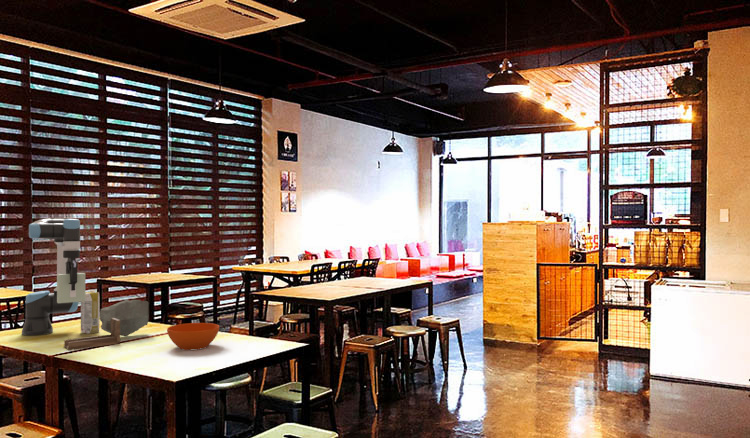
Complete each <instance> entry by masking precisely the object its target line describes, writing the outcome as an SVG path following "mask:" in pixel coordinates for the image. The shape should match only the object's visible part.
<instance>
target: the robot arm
mask: <svg viewBox="0 0 750 438" xmlns="http://www.w3.org/2000/svg"><path fill="white" fill-rule="evenodd" d="M28 237H29V238H30V239H41V240H42V239H43V240H53V243H54V244H55V245H56V275H57V274H70V283H69V284H70V297H76V283H77V273H78V267H79V266H78V265H79V264H78V261H77V258H80V257H81V251H80V249H81V221H80V220H79V219H78V218H42V219H38V220H36V221H33V222H32V223H29V224H28ZM79 303H80V302H69V303H57V286H56V287H55V288H54V289H53V292H50V290H41V291H34V292H31V293H28V294H27V295H26V296H25V321H24V323H23V327H22V328H21V335H22V336H42V335H48V334H51V333H53V332H54V328H53V325H52V322H51V319H50V314H64V313H67V314H69V313H74V312H76V311H77V310H78V308H79V307H78V306H79Z"/></svg>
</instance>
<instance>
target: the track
mask: <svg viewBox="0 0 750 438" xmlns="http://www.w3.org/2000/svg"><path fill="white" fill-rule="evenodd" d="M63 341H64V343H63V347H64V348H65V349H67V350H68V351H72V349H74V350H80V349H88V347H89V348H93V347H94V348H95V347H102V346H110V345H118V344H121V335H120V320H118V319H116V318H111V333H110V334H103V335H96V336H87V337H79V338H72V339H71V338H70V339H64V340H63Z"/></svg>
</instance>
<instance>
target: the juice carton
mask: <svg viewBox="0 0 750 438" xmlns="http://www.w3.org/2000/svg"><path fill="white" fill-rule="evenodd" d="M100 304H101V303H100V292H99V291H98V292H96V290H95V289H91V290H89V291H85V301H82V302H80V333H83V334H87V335H90V334H91V335H92V334H95V333H99V332H100V311H101V308H100V306H101V305H100Z"/></svg>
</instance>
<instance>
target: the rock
mask: <svg viewBox="0 0 750 438" xmlns="http://www.w3.org/2000/svg"><path fill="white" fill-rule="evenodd" d="M149 303H150V302H148V301H147V300H141V299H131V300H129V299H125V300H122V301H119V302H117V303H115V304H112V305H110V306H108V307H107V306H104V307H103V308H100V315H99V322H101V325H100V328H101V330H103V331H105V333H109V334H111V318H116V319H118V320H120V337H128V336H129V335H131V334H133V333H135V332H138V331H139V330H140V329H141V328H144V327H145V326H147V325H148V324H149V319H150V318H149V317H150V316H149V313H150V312H149Z"/></svg>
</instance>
